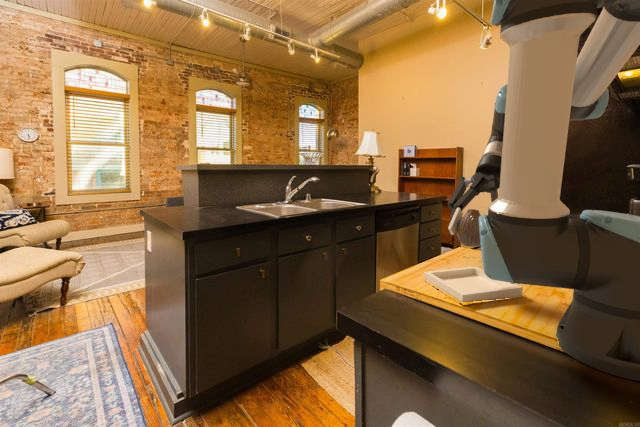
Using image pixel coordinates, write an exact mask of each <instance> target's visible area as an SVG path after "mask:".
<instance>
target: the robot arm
mask: <svg viewBox="0 0 640 427" xmlns="http://www.w3.org/2000/svg"><path fill="white" fill-rule="evenodd" d="M600 8H602V10H601V12H600V14H599V15H598V17H597V11H598V9H600ZM596 18H597V19H596ZM595 21H596V22H595ZM593 23H594V25H593V27H592V29H591V30H590V33H589V35H588V37H587V39H586V41H585V42H584V45H583V46H582V47H581V50H580V52H579V54H578V50H579V43H580V38H581V35H582V34H583V33H584V32H585V31H586V30H587V29H588V28H589V27H590V26H592V24H593ZM490 25H492V26H495V27H499V26H500V31H499V35H500V36H499V38H500V40H502V41H503V42H504V43H506V44H507V45H508V47H509V59H508V70H507V71H508V73H507V82H506V84H504V85H503V86H502V87H501V88H500V89H499V90H497V91H498V92H497V94H496V99H495V103H494V109H493V119H492V120H493V121H492V124H491V131H490V136H489V138H488V142H487V144H486V146H485V148H484V150H483V152H482V155H481V157H480V159H479V162H478V164H477V166H476V168H475V173H474V174H472V175H471V177H468V178H465V176H461V177H460V178H459V182H458V185H457V186H456V188H455V189H454V191H453V193H452V195H451V196H450V199H449V200H448V202H447V206H448V208H449V210H450V211H451V213H450V215H449V221H450V222H449V224H448V227H447V229H448V231H449V233H450V235H452V236H454V235H455V234H456V233H457V226H458V223H459V221H460V219H461V218H462V217H463V216H464V213H463V210H464V209H465V208H466V207H467V206H468V205H469V204H470V203H471V201H473V199H474V198H475V197H476V196H479V194H480V193H487V194H488V193H489V194H490V199H491V200H490V203H489V205H488V208H487V211H486V212H487V213H486V214H483V215H482V214H481V216H479V233H480V243H481V246H480V250H481V251H480V253H481V262H482V270H484V273H485V275H486V276H487V277H489V278H490V279H492V280H498V281H504V282H510V283H511V284H517V285H519V284H520V285H527V286H528V285H529V286H530V285H531V286H538V287H549V288H557V289H559V288H560V289H567V290H568V289H569V290H573V294H572V300H571V302H570V303H569V305H568V307H567V309H566V310H565V312H564V314H563V315H562V317H561V319H560V321H559V323H558V324H557V327H556V332H555V333H556V334H555V337H556V336H557V338H558V341H559V345H558V346H559V348H561V350H563V351H564V352H565V353H566V354H567V355H569V356H570V357H572V358H574V359H575V360H577V362H581V363H583V364H584V365H587V366H589V367H591V368H593V369H595V370H598V371H601V372H603V373H606V374H608V375H613V376H616V377H618V378H624V379H627V380H631V381H635V382H636V381H637V382H640V216H639V215H634V214H628V213H622V212H621V213H620V212H615V211H608V210H599V209H597V210H596V209H593V210H592V209H584V210H583V211H582V212H581V213H580V214H579V219H578V218H570V213H571V211H570V209H569V207H567V206H566V204H564V203H563V202H562V201H561V199H560V198H561V192H562V191H561V189H562V181H563V174H564V164H565V159H566V150H567V142H568V134H569V133H568V132H569V125H570V122H571V121H584V120H593V119H597V118H600V117H601V116H603V114H604V113H605V112H606V108H607V107H608V104H609V98H610V95H609V94H610V93H609V88H608V87H609V86H610V85H611V83H612V82H613V81H614V79H615V78H616V77H617V75H618V74H619V73H620V71H621V70H622V68H623V67H624V66H625V65H626V63H627V62H628V61H629V59H630V58H631V57H632V55H633V54H634V53H635V52H636V50H637V49H638V48H639V46H640V0H493V5H492V12H491V18H490ZM468 187H469V188H468ZM467 188H468V189H467Z"/></svg>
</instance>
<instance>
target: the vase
mask: <svg viewBox="0 0 640 427" xmlns="http://www.w3.org/2000/svg"><path fill="white" fill-rule="evenodd" d="M479 216H482V214H481V213H480V211H479V209H476V208H475V209H472V208H471V209H467V210H466V212H465V214H463V215H462V218H461V219H460V221H459V223H458V226H457V229H456V236H457V239H458V241H459V242H460V243H461V245H462V246H465V247H469V248H477V247H481V243H480V233H479Z"/></svg>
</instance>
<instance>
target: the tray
mask: <svg viewBox="0 0 640 427" xmlns="http://www.w3.org/2000/svg"><path fill="white" fill-rule="evenodd" d="M424 278H425V279H426V280H428V281H429V282H431V283H432V284H434V285H436V286H437V287H439V288H440V289H442V290H443V291H445V292H446V293H448V294H450V295H451V296H453V297H454V298H456V299H457V300H459V301H461V302H473V301H482V300H496V299H505V298H514V299H521V297H522V298H523V290H524V288H523V287H522V286H521V285H519V284H517V283H515V284H511V283H510V282H504V281H498V280H492V279H490V278H489V277H487V276H486V275H485V273H484V270H483V268H480V267H478V266H477V265H476V266H468V267H467V266H466V267H457V268H449V269H439V270H430V271H429V270H428V271H424V272H423V279H424Z"/></svg>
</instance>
